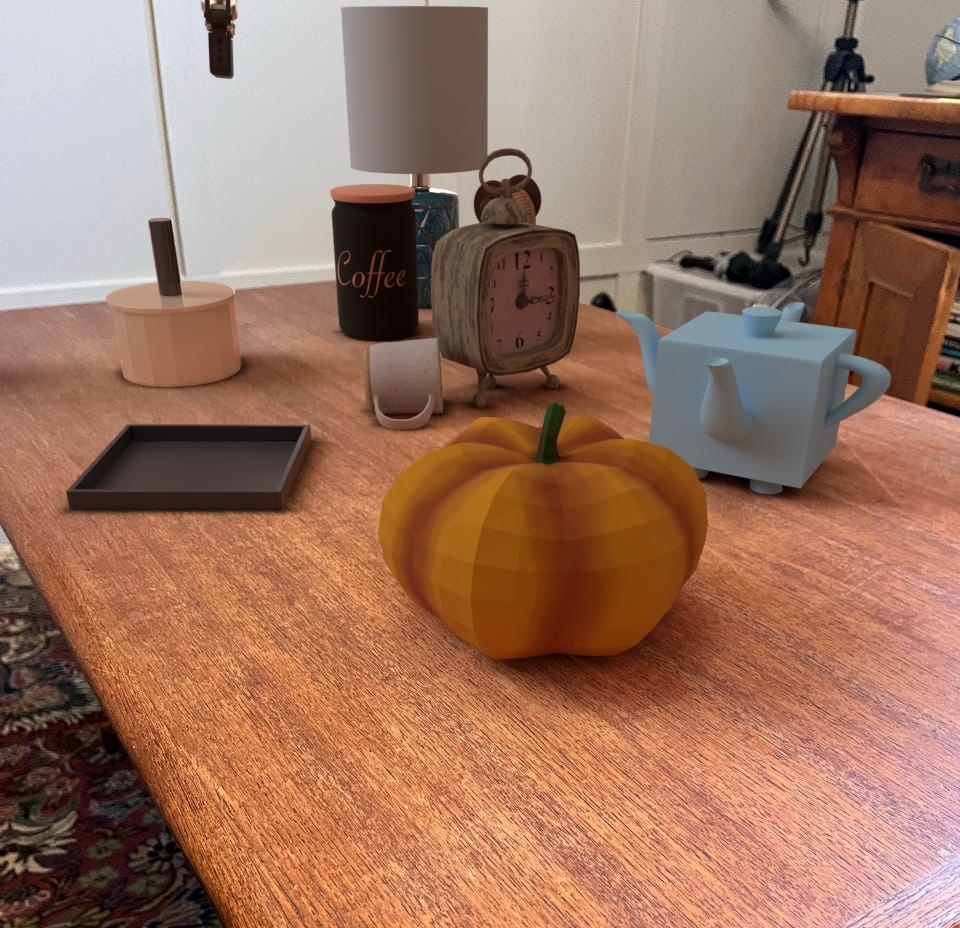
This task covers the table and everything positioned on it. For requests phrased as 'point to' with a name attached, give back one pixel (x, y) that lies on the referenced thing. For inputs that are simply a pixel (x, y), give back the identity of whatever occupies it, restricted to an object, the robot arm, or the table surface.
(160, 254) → the lid
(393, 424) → the ceramic mug
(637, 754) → the table surface
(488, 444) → the decorative pumpkin
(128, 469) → the tray
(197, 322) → the canister
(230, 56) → the robot arm
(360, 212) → the coffee jar
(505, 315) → the tabletop clock
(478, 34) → the lamp
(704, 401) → the teakettle
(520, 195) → the dark rounded piece
